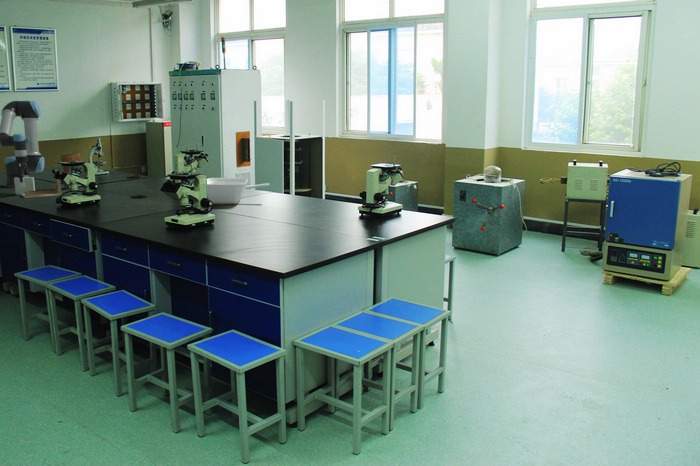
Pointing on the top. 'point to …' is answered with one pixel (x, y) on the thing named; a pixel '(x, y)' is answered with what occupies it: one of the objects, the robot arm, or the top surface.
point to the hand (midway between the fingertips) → (24, 185)
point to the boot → (66, 159)
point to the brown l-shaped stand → (44, 191)
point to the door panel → (24, 185)
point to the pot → (227, 189)
